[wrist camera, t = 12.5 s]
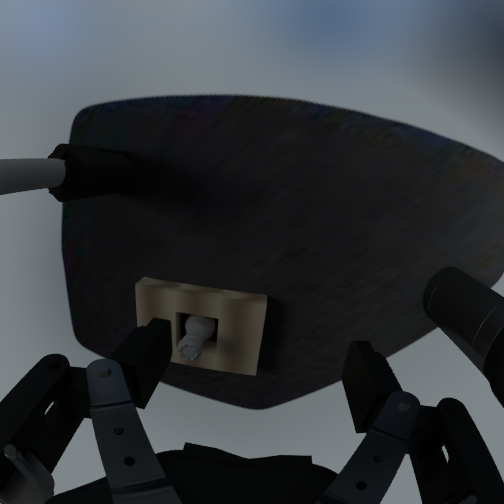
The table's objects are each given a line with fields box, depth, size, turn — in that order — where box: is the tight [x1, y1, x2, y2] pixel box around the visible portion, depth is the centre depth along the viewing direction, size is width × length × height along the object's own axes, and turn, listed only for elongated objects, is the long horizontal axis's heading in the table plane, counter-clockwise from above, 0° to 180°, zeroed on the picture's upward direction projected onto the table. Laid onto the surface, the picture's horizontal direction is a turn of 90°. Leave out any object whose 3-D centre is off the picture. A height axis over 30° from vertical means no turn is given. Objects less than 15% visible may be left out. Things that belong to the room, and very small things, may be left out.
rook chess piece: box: [177, 314, 216, 362], centre depth 36 cm, size 4×4×8 cm
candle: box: [0, 144, 136, 202], centre depth 23 cm, size 5×5×25 cm
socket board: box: [135, 277, 267, 375], centre depth 38 cm, size 18×12×3 cm, turn 83°
